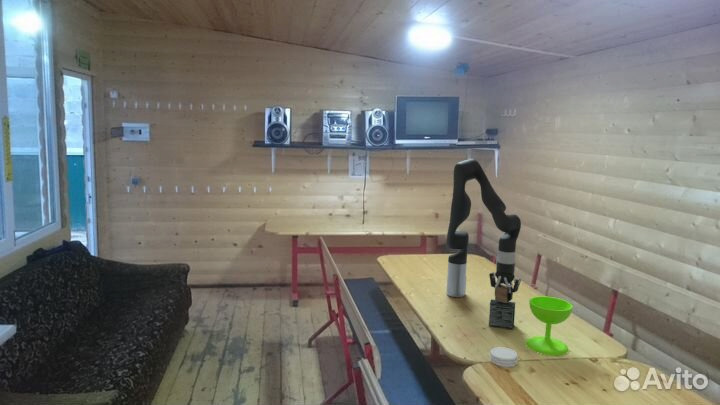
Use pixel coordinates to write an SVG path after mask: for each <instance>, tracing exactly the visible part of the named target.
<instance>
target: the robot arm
mask: <svg viewBox="0 0 720 405" xmlns="http://www.w3.org/2000/svg"><path fill="white" fill-rule="evenodd" d="M474 179H475V180H476V181H477V182H478V184H479V187H480V196H481V201H482V203H483V205H484V206H485V208H487V210H488V212H489V213H490V214H491V216H492V219H493V222H494V225H495V226H496V228H497V229H498V230H499V231H500V232H502V233H504V234H503V235H502V236H501V237H500V238H499V239H498V247H497V248H498V249H497V250H498V251H497V255H496V270H495V272H490V273H489V275H488V276H489V281H490V287H492V288H494V294H495V293H496V287H497V286H499V285H501V284H502V285H506V287H507V289H508V299H507V301H509V302H512V300H513V294H514V293H516V292H518V290H519V288H520V284H521V281H522V280H521V278H517V277H515V270H516V269H515V267H516V258H517V257H516V246H517V241H518V238H519V234H520V231H521V227H522V221H521V219H520V216H518V215H516V214H512V213H511V214H506V213H505V211H506V209H507V205H506V204H505V203H504V201H503V200H502V198H501V197H500V196H499V195H498V194H497V191H495V189H494V188H493V186H492V184H491V182H490V180H489V178H488V176H487V174H486V173H485V171H484V169H483V167H482V165H481V164H480V162H479V161H477V160H476V159H475V158H468V159H465V160H462V161H460V162H457V163H455V165H454V168H453V190H452V199H451V205H450V217H449V224H448V229H447V234H446V240H445V244H446V247H447V248H448V249H451V250H459V251H458V252H456V253H452V254H450V255H448V259H447V260H448V263H447V276H446V277H447V278H446V295H447V296H448V297H452V298H463V297H465V295H466V289H467V287H466V286H467V264H468V262H467V260H468V250H469V249H468V248H469V243H470V242H469V241H470V239H469V238H470V236H469V233H468V232H467V231H466V230H465V231H463V230H462V231H461V230H458V228H459V227H460V225H462V224H463V223H464V222H465V221H466V220H467V219H468V218H469V216H470V214H471V208H472V200H471V197H470V196H469V195H468V193H467V191H466V183H467V182H469V181H471V180H474ZM496 279H497V280H496ZM513 283H514V284H513Z"/></svg>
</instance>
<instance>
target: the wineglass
mask: <svg viewBox="0 0 720 405" xmlns="http://www.w3.org/2000/svg"><path fill="white" fill-rule="evenodd" d="M528 302H529V303H528V304H529V309H530V311H531V313H532V315H533V316H534V317H535V318H536V319H537V320H538V321H540V322H542V323H544V324H546V325H545V335H544V336H538V335H537V336H532V337H529V338H528V339H527V340H526V341H525V345H527V346H526V347H527V348H528V349H529V348H530V349H529V350H531V351H532V350H533V351H532V352H534V351H535V353H537V352H539V353H538V354H540V353H542V354H541V355H544V354H545V356H549V355H550V356H551V357H560V356H559V355H562V356H564V355H563V354H565V355H567V354H568V353H569V351H568V350H569V347H568V346H567V345H566V343H564V342H562V341H561V340H559V339H556V338H553V337H551V334H552V333H551V332H552V325H558V324H561V323H563V322H565V321H566V320H567V319H569V317H570V315H571V314H572V312H573V307H574V306H573V304H572V303H570V302H569V301H568V300H565V299H562V298H559V297H553V296H546V295H545V296H543V295H540V296H533V297H531V298H529V300H528ZM567 352H568V353H567ZM566 353H567V354H566Z"/></svg>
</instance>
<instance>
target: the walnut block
mask: <svg viewBox="0 0 720 405" xmlns="http://www.w3.org/2000/svg"><path fill="white" fill-rule="evenodd" d="M507 299H508V289H507V287H506V285H505V284H501V285H499V286H497V287H496V293H495V292H494V300H496V301H500V302H503V303H507V302H510V301H507Z"/></svg>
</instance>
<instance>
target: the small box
mask: <svg viewBox="0 0 720 405" xmlns="http://www.w3.org/2000/svg"><path fill="white" fill-rule="evenodd" d="M515 314H516V302H514V301H509V302H507V303H503V302H500V301H496V300H495V299H490V302H489V315H488V327H493V328H499V329H506V330H512V331H513V330H514V327H515Z"/></svg>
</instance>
